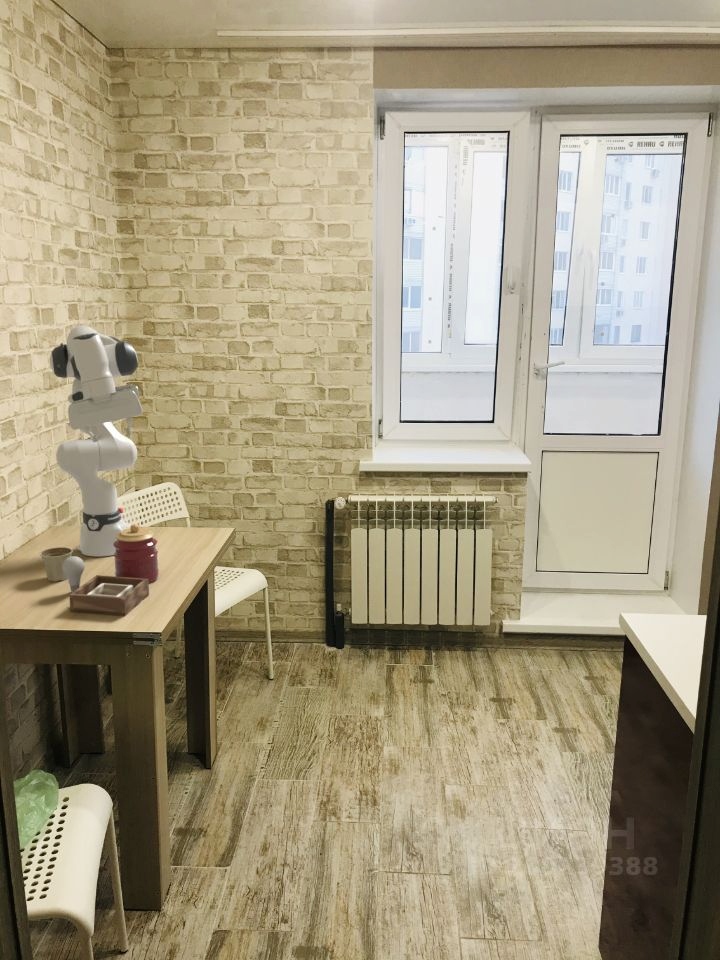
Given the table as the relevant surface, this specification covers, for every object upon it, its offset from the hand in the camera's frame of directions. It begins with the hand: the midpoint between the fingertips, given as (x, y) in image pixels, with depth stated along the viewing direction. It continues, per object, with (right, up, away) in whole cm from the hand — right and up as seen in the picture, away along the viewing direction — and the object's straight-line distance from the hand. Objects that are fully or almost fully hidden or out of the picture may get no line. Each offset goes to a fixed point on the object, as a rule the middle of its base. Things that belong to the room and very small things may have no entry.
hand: (112, 438), depth 223 cm
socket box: (0, -47, -1) cm, 47 cm away
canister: (+2, -43, +19) cm, 47 cm away
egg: (-13, -45, +7) cm, 48 cm away
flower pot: (-23, -43, +18) cm, 52 cm away
